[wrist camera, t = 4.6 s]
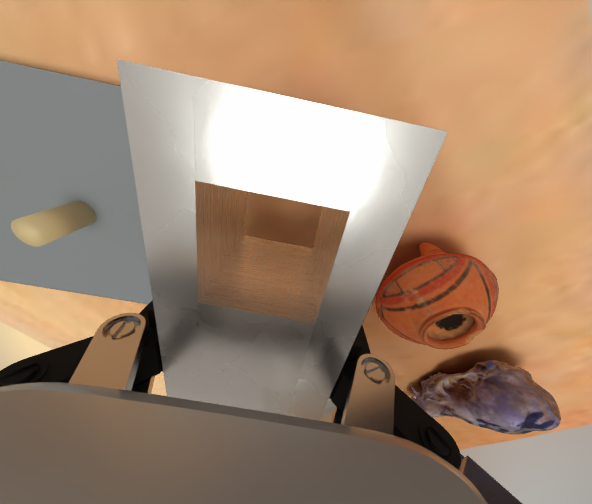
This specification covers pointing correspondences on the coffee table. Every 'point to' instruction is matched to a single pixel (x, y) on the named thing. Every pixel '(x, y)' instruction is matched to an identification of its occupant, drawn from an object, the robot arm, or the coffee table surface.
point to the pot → (438, 298)
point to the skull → (491, 398)
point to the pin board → (68, 187)
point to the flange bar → (256, 251)
